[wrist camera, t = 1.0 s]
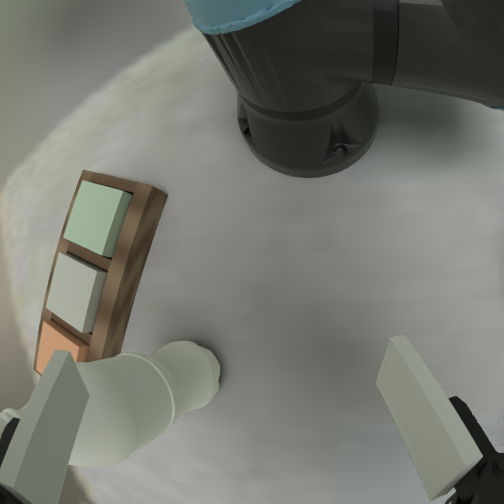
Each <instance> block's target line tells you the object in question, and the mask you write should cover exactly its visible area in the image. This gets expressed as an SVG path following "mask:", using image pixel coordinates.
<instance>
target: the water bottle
mask: <svg viewBox="0 0 504 504" xmlns="http://www.w3.org/2000/svg"><path fill="white" fill-rule="evenodd" d="M75 364H76V366H77V369H78V371H79V373H80V375H81V378H82V380H83V382H84V384H85V386H86V388H87V391H88V393H89V395H90V396H89V399H88V402H87V405H86V408H85V411H84V414H83V417H82V420H81V423H80V426H79V429H78V433H77V436H76V439H75V442H74V446H73V449H72V453H71V456H70V460H69V463H68V464H69V465H75V466H83V467H94V468H96V467H107V466H112V465H115V464H118V463H120V462H122V461H124V460H125V459H127V458H128V457H129V456H130V455H131V454H132V453H133V452H135V451H137V450H138V449H140V448H141V447H143V446H144V445H146V444H147V443H149V442H151V441H152V440H154V439H155V438H157V437H159V436H161V435H162V434H164V433H165V432H166V431H167V430H168V429H169V427H170V426H171V425H172V424H173V422H174V421H175V420H176V419H177V418H178V417H180V416H181V415H182V414H184V413H186V412H187V411H189V410H196V409H200V408H202V407H204V406H205V405H207V404H208V403H209V402H210V401H211V400H212V399H213V398H214V396H215V395H216V393H217V392H218V390H219V384H220V383H219V382H218V380H219V376H220V365H219V362H218V361H217V359H216V357H215V356H214V354H213V353H212V352H211V351H209V350H208V349H206V348H203V347H201V346H198V345H197V344H196V343H194V342H192V341H176V342H171V343H169V344H166V345H164V346H163V347H161V348H160V349H159V350H158V351H156V352H155V353H153V354H152V355H150V356H149V355H145V354H141V353H122V354H119V355H117V356H115V357H112V358H107V359H102V360H97V361H92V362H77V363H75ZM26 406H27V404H26V405H25V406H24V407H23V408H21V409H19V410H17V411H16V410H14V409H12V408H8V409H5V410H3V412H2V413H0V438H1V435H2V433H3V430H4V428H5V426H6V425H7V424H8V423H9V422H10V421H11V419H12V418H13V417H15V418H19V419H21V417H22V415H23V412H24V410H25V408H26Z"/></svg>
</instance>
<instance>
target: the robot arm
mask: <svg viewBox="0 0 504 504" xmlns="http://www.w3.org/2000/svg"><path fill="white" fill-rule="evenodd" d="M184 1H185V3H186V5H187V7H188V10H189V11H190V14H191V16H192V19H193V23H194V25H195V27H196V28H197V29H198V30H200V32H202V34H203V35H204V37H205V39H206V40H207V42H208V43H209V45H210V47H211V48H212V50H213V51H214V53H215V55H216V56H217V58H218V60H219V61H220V63H221V65H222V66H223V68H224V70H225V71H226V73H227V75H228V76H229V78H230V80H231V82H232V83H233V85H234V87H235V88H236V90H237V116H238V123H239V127H240V130H241V133H242V135H243V137H244V139H245V141H246V142H247V144H248V146H249V147H250V149H251V150H252V151H253V153H254V154H255V155H256V156H257V157H258V158H259V159H260V160H261V161H262V162H263V163H265V164H266V165H268V166H269V167H271V168H273V169H275V170H277V171H279V172H282V173H285V174H288V175H292V176H298V177H319V176H325V175H330V174H333V173H336V172H339V171H341V170H343V169H345V168H347V167H349V166H350V165H352V164H353V163H355V162H356V161H357V160H359V159H360V158H361V157H362V156H363V155H364V154H365V152H366V151H367V150H368V148H369V147H370V145H371V144H372V142H373V139H374V137H375V134H376V130H377V124H378V118H379V107H378V100H377V96H376V93H375V91H374V88H373V86H372V84H371V83H376V84H385V85H390V86H397V87H404V88H410V89H417V90H422V91H428V92H433V93H438V94H443V95H448V96H453V97H457V98H462V99H466V100H470V101H474V102H478V103H481V104H483V105H485V106H487V107H490V108H492V109H496V110H497V109H499V110H502V111H504V0H184ZM375 383H376V385H377V387H378V389H379V391H380V393H381V395H382V397H383V399H384V401H385V403H386V405H387V407H388V409H389V411H390V413H391V416H392V418H393V420H394V422H395V424H396V426H397V428H398V430H399V432H400V435H401V437H402V439H403V441H404V443H405V445H406V448H407V450H408V452H409V454H410V456H411V458H412V461H413V463H414V465H415V467H416V470H417V472H418V474H419V476H420V479H421V481H422V483H423V486H424V488H425V490H426V492H427V495H428V497H429V499H430V501H431V500H433V499H436V498H438V497H440V496H443V495H445V494H447V493H448V492H449V491H450V490H451V489H452V488H453V487H454V488H455V490H456V492H455V493H454V494H453V495H452V496H451V497H450V498H449V499H447V501H446V502H445V504H449V503H450V502H451V501H452V502H451V504H504V453H498V452H496V450H495V449H494V447H493V446H492V444H491V442H490V441H489V439H488V438H487V436H486V434H485V433H484V431H483V429H482V428H481V426H480V425H479V423H477V420H476V418H475V417H474V415H472V412H471V411H470V409H469V408H468V406H467V405H466V403H465V402H463V401H462V400H461V399H459V398H458V397H457V396H454V397H451V398H449V399H448V398H447V396H446V394H445V393H444V391H443V390H442V388H441V387H440V385H439V384H438V382H437V381H436V379H435V378H434V376H433V375H432V373H431V372H430V370H429V369H428V367H427V366H426V364H425V363H424V361H423V360H422V358H421V357H420V355H419V354H418V352H417V351H416V350H415V348H414V347H413V345H412V344H411V342H410V341H409V339H408V338H407V337H406V335H399V336H393V337H390V338H389V341H388V345H387V348H386V351H385V354H384V358H383V361H382V364H381V367H380V370H379V373H378V376H377V379H376V382H375ZM89 396H90V395H89V393H88V391H87V388H86V386H85V384H84V382H83V380H82V378H81V375H80V373H79V371H78V369H77V366H76V364H75V362H74V359H73V357H72V355H71V352H70V351H65V350H55V351H54V353H53V354H52V356H51V358H50V360H49V362H48V364H47V366H46V368H45V369H44V371H43V373H42V375H41V377H40V379H39V381H38V383H37V385H36V387H35V389H34V391H33V394H32V395H31V398H30V400H29V402H28V404H27V406H26V408H25V410H24V412H23V415H22V417H21V419H19V418H15V417H13V418H12V419H11V421H10V422H9V423H8V424H7V425H6V426H5V428H4V430H3V433H2V435H1V438H0V504H58V502H59V497H60V493H61V489H62V485H63V481H64V478H65V474H66V470H67V467H68V463H69V460H70V456H71V453H72V449H73V446H74V442H75V439H76V436H77V433H78V429H79V426H80V423H81V420H82V417H83V414H84V411H85V408H86V405H87V402H88V399H89Z"/></svg>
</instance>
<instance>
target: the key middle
mask: <svg viewBox="0 0 504 504" xmlns="http://www.w3.org/2000/svg"><path fill="white" fill-rule="evenodd" d="M107 274H108V271H107V270H104V269H102V268H100V267H98V266H96V265H94V264H92V263H90V262H88V261H86V260H84V259H82V258H80V257H78V256H76V255H73V254H68V253H62V252H59V254H58V258H57V262H56V265H55V269H54V273H53V278H52V282H51V286H50V291H49V295H48V300H47V305H46V308H47V309H49V310H50V311H51V312H53V313H54V314H55V315H57V316H58V317H60V318H61V319H63V320H64V321H65V322H67V323H68V324H70V325H71V326H73V327H74V328H76V329H77V330H78V331H80V332H81V333H86V332H93V329H94V324H95V320H96V316H97V312H98V308H99V304H100V300H101V296H102V292H103V288H104V285H105V281H106V278H107Z"/></svg>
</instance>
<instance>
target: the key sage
mask: <svg viewBox="0 0 504 504" xmlns="http://www.w3.org/2000/svg"><path fill="white" fill-rule="evenodd" d="M132 197H133V195H131V194H129V193H127V192H124V191H122V190H118V189H114V188H110V187H107V186H103V185H99V184H95V183H91V182H87V181H84V180H82V183H81V185H80V188H79V191H78V194H77V196H76V199H75V202H74V205H73V208H72V211H71V214H70V217H69V220H68V223H67V227H66V230H65V233H64V236H63V238H65V239H67V240H69V241H72V242H74V243H76V244H78V245H80V246H82V247H84V248H87V249H89V250H91V251H93V252H95V253H97V254H100V255H102V256H107V257H113V254H114V250H115V247H116V244H117V241H118V238H119V235H120V232H121V229H122V226H123V223H124V220H125V217H126V214H127V211H128V208H129V205H130V202H131V200H132Z"/></svg>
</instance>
